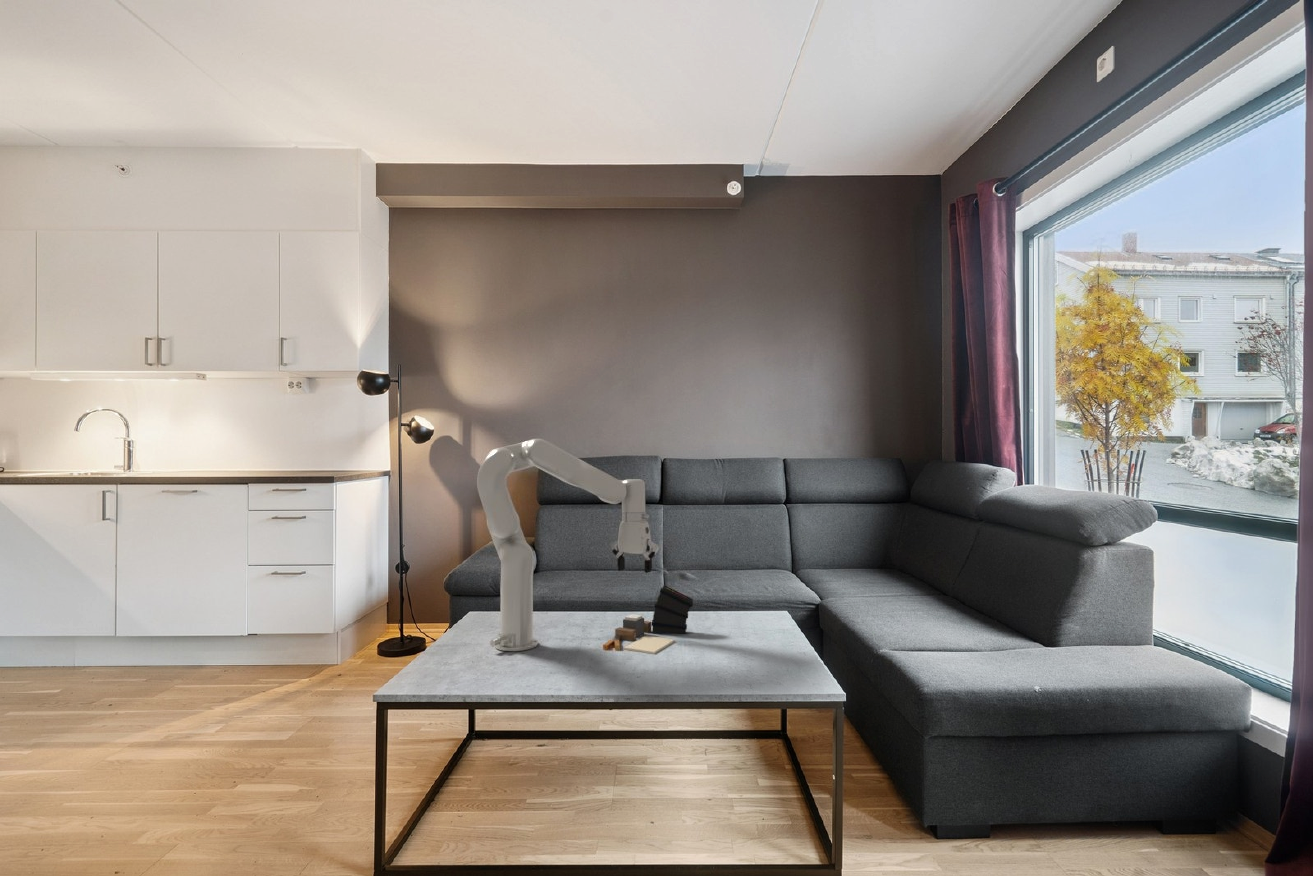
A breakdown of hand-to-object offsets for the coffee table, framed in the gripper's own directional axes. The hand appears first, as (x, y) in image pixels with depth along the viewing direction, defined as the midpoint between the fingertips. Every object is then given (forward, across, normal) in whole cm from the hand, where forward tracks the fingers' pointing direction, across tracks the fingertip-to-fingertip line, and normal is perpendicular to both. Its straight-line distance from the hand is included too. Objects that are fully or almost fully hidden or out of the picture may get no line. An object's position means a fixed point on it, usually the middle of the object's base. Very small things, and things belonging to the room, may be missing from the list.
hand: (634, 571), depth 208 cm
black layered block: (+21, -10, -8) cm, 24 cm away
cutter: (+20, 0, +12) cm, 24 cm away
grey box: (+20, 0, 0) cm, 20 cm away
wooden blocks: (+20, 0, 0) cm, 20 cm away
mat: (+20, -10, +8) cm, 24 cm away
